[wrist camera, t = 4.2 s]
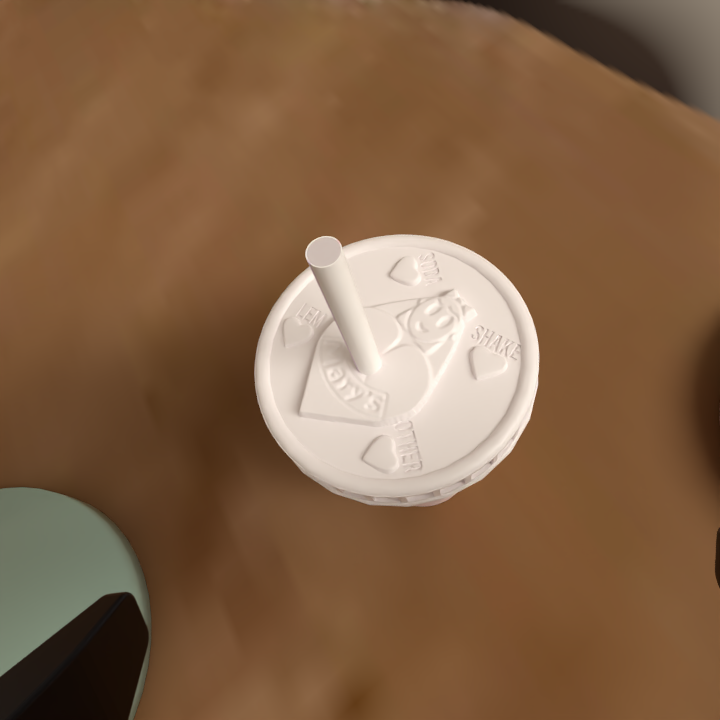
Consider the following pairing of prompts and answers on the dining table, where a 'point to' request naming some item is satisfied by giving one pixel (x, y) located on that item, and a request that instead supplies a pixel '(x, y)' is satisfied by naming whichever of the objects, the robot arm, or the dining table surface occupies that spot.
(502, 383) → the smoothie
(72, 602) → the green dish
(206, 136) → the dining table surface
